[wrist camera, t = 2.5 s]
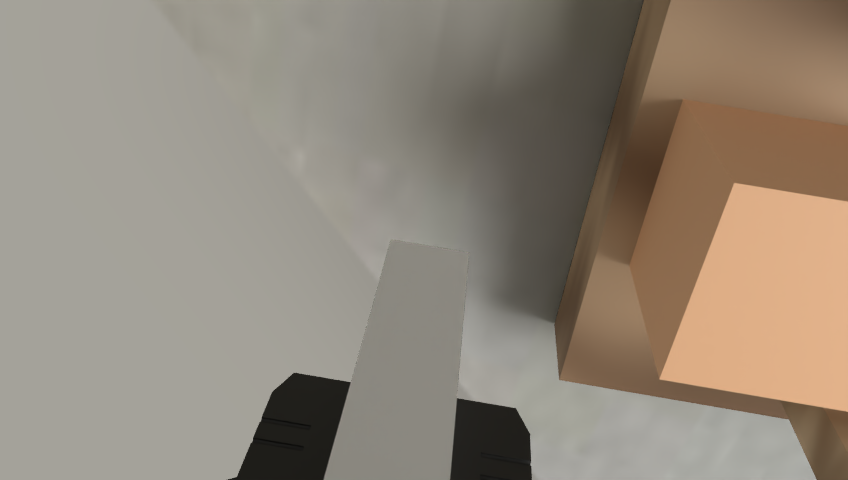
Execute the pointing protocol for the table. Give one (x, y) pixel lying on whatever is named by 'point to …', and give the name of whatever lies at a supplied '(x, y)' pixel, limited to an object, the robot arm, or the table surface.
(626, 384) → the deck
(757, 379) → the block
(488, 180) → the table surface
